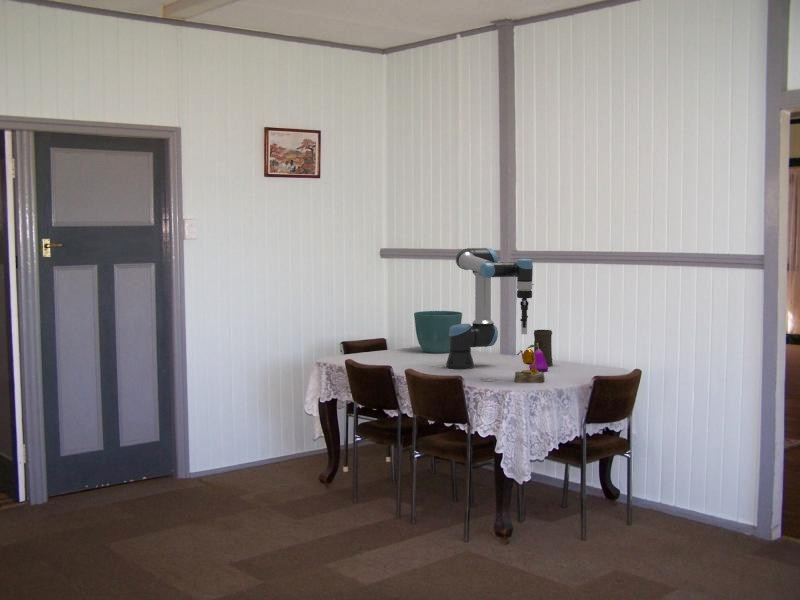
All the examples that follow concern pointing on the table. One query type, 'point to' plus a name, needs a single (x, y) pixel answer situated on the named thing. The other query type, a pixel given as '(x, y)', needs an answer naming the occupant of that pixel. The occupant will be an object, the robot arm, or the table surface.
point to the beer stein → (544, 344)
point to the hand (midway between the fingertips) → (524, 332)
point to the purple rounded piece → (539, 360)
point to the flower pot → (435, 329)
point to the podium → (529, 377)
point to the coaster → (488, 379)
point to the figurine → (529, 361)
